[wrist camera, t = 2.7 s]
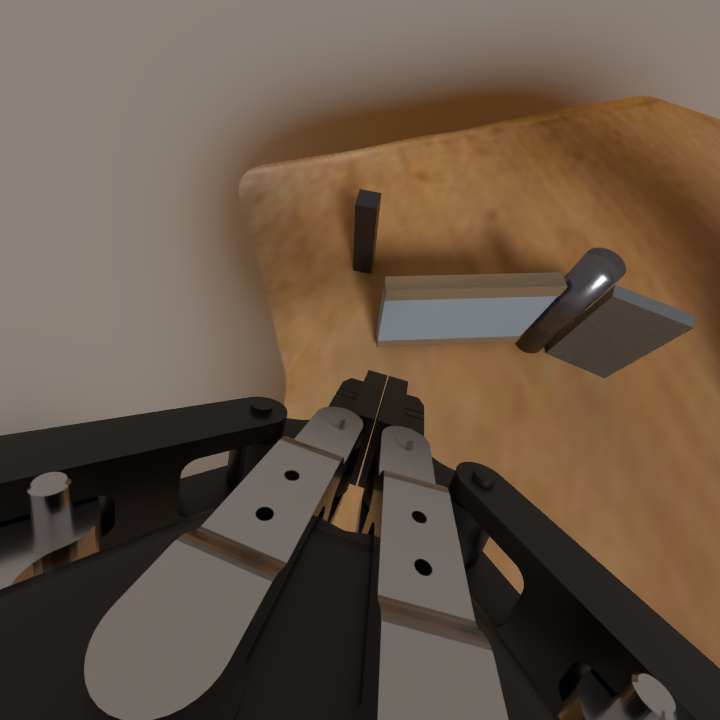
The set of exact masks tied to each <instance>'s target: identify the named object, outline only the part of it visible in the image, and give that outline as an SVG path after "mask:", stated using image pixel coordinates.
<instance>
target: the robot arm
mask: <svg viewBox="0 0 720 720" xmlns="http://www.w3.org/2000/svg"><path fill="white" fill-rule="evenodd" d="M386 379H387V375H384V374H381V373H377V372H374V371H371V370H369V371H368V373H367V375H366V378H365V380H364V382H363V381H360V380H356V379H353V378H351V379H348V380H346V381H344V382H343V383H342V384H341V386H340V388H339V390H338V391H337V393H336V395H335V396H334V398H333V400H332V402H331V403H330V405H329V407H324V408H321V409H320V410H318V411H317V412H316V413H315V415H314V416H313V417H312V418H311V419H310V420H297V419H288V418H286V417H287V409H286V407H285V406H284V405H283V404H281V403H280V402H278V401H276V400H273V399H270V398H265V397H249V398H242V399H236V400H229V401H223V402H216V403H210V404H203V405H197V406H191V407H184V408H178V409H171V410H164V411H158V412H151V413H146V414H138V415H132V416H125V417H119V418H113V419H106V420H99V421H93V422H87V423H80V424H74V425H67V426H61V427H54V428H48V429H41V430H35V431H28V432H22V433H16V434H9V435H3V436H0V720H720V668H718V667H717V666H716V665H715V664H714V663H713V662H712V661H711V660H709V659H708V658H707V657H706V656H705V655H704V654H703V653H701V652H700V651H699V650H698V649H697V648H696V647H695V646H694V645H692V644H691V643H690V642H689V641H688V640H687V639H686V638H684V637H683V636H682V635H681V634H680V633H679V632H678V631H676V630H675V629H674V628H673V627H672V626H671V625H670V624H669V623H667V622H666V621H665V620H664V619H663V618H662V617H661V616H659V615H658V614H657V613H656V612H655V611H654V610H653V609H651V608H650V607H649V606H648V605H647V604H646V603H645V602H644V601H642V600H641V599H640V598H639V597H638V596H637V595H636V594H634V593H633V592H632V591H631V590H630V589H629V588H628V587H626V586H625V585H624V584H623V583H622V582H621V581H620V580H619V579H617V578H616V577H615V576H614V575H613V574H612V573H611V572H609V571H608V570H607V569H606V568H605V567H604V566H603V565H601V564H600V563H599V562H598V561H597V560H596V559H595V558H594V557H592V556H591V555H590V554H589V553H588V552H587V551H586V550H584V549H583V548H582V547H581V546H580V545H579V544H578V543H576V542H575V541H574V540H573V539H572V538H571V537H570V536H569V535H567V534H566V533H565V532H564V531H563V530H562V529H561V528H559V527H558V526H557V525H556V524H555V523H554V522H553V521H551V520H550V519H549V518H548V517H547V516H546V515H545V514H544V513H542V512H541V511H540V510H539V509H538V508H537V507H536V506H534V505H533V504H532V503H531V502H530V501H529V500H528V499H527V498H525V497H524V496H523V495H522V494H521V493H520V492H519V491H517V490H516V489H515V488H514V487H513V486H512V485H511V484H509V483H508V482H507V481H506V480H505V479H504V478H503V477H502V476H500V475H499V474H498V473H497V472H495V471H494V470H492V469H490V468H488V467H486V466H484V465H481V464H478V463H474V462H463V463H460V464H459V465H458V466H457V468H456V470H455V471H454V470H453V469H451V468H449V467H447V466H445V465H443V464H441V463H440V462H438V461H437V460H435V459H434V458H433V457H432V456H431V450H430V445H429V443H428V441H427V440H426V438H424V405H423V404H422V402H421V401H420V399H419V398H417V397H413V396H410V395H407V386H408V381H405V380H401V379H398V378H394V377H391V376H389V378H388V381H387V385H386V388H385V391H384V395H383V398H382V401H381V405H380V408H379V404H380V400H381V397H382V393H383V390H384V386H385V383H386ZM378 408H379V411H378ZM377 411H378V415H377ZM376 415H377V418H376ZM375 418H376V422H375ZM374 422H375V425H374ZM373 425H374V429H373ZM372 429H373V432H372ZM371 432H372V436H371V440H370V443H369V447H368V451H367V454H366V458H365V462H364V465H363V469H362V473H361V476H360V480H359V483H358V486H359V487H362V488H364V492H363V496H362V499H361V502H360V506H359V509H358V516H357V524H356V531H355V532H348V531H344V530H342V529H340V528H338V527H336V526H334V525H333V524H332V523H333V521H334V518H335V516H336V514H337V512H338V509H339V507H340V505H341V502H342V498H343V495H344V493H345V492H346V491H347V489H348V486H349V483H350V484H353V485H356V483H357V479H358V476H359V472H360V469H361V466H362V462H363V459H364V456H365V452H366V449H367V445H368V442H369V439H370V435H371ZM226 451H230V452H229V460H228V465H227V466H224V467H220V468H217V469H213V470H210V471H206V472H203V473H199V474H196V475H192V476H189V477H185V478H181V479H180V476H181V472H182V470H183V469H184V467H185V466H186V465H187V464H188V463H190V462H191V461H193V460H195V459H198V458H202V457H206V456H210V455H214V454H218V453H222V452H226ZM489 536H490V537H491V538H492V539H493V540H494V541H495V542H496V543H497V545H498V546H499V547H500V548H501V549H502V550H503V551H504V552H505V553H506V554H507V555H508V557H509V558H510V559H511V560H512V561H513V562H514V563H515V564H516V565H517V567H518V568H519V570H520V572H521V574H522V576H523V580H524V589H523V592H522V594H521V595H520V594H519V593H518V592H517V591H516V589H515V588H514V587H513V586H512V585H511V584H510V583H509V581H508V580H507V579H506V578H505V577H504V576H503V574H502V573H501V572H500V571H499V570H498V569H497V567H496V566H495V565H494V564H493V563H492V562H491V560H490V559H489V558H488V557H487V556H486V555H485V554H484V552H483V551H482V550H483V548H484V546H485V544H486V542H487V540H488V538H489Z"/></svg>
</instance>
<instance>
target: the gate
mask: <svg viewBox="0 0 720 720" xmlns="http://www.w3.org/2000/svg"><path fill="white" fill-rule="evenodd" d="M567 287H568V286H567V284H566V281H565V278H564V275H563V273H562V272H554V273H512V274H469V275H427V276H385V280H384V288H383V294H382V300H381V306H380V313H379V319H378V325H377V330H376V344H377V347H404V346H432V345H461V344H489V343H516V342H517V341H518V340H519V338H520V337H521V335H522V334H523V333H524V332H525V331H526V330H527V329H528V328H529V327H530V325H531V324H532V323H533V322H534V321H535V320H536V319H537V318H538V317H539V316H540V315H541V314H542V313H543V312H544V310H545V309H546V308H547V307H548V306H549V305H550V304H551V303H552V302H553V301H554V300H555V299H556V298H557V296H560V295H561V294H562V293H563V291H564V290H565V289H566V288H567Z"/></svg>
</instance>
